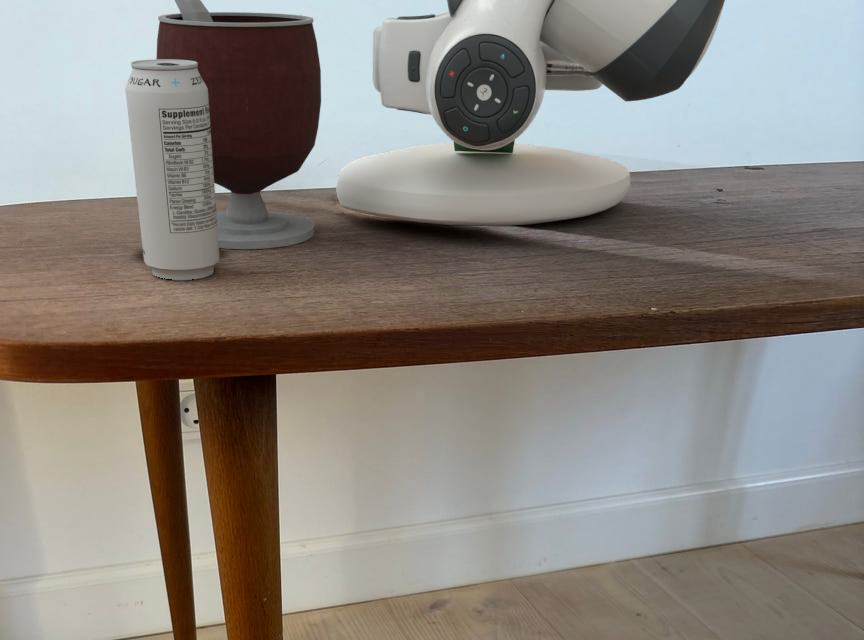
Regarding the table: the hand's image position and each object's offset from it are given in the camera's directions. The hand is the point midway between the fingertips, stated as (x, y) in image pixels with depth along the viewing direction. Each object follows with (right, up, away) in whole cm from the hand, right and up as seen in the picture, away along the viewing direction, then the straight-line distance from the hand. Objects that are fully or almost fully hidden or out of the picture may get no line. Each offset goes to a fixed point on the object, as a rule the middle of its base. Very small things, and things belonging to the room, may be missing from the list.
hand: (489, 50), depth 96 cm
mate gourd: (-23, -16, +2) cm, 28 cm away
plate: (0, -12, +9) cm, 15 cm away
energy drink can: (-26, -24, -10) cm, 37 cm away
